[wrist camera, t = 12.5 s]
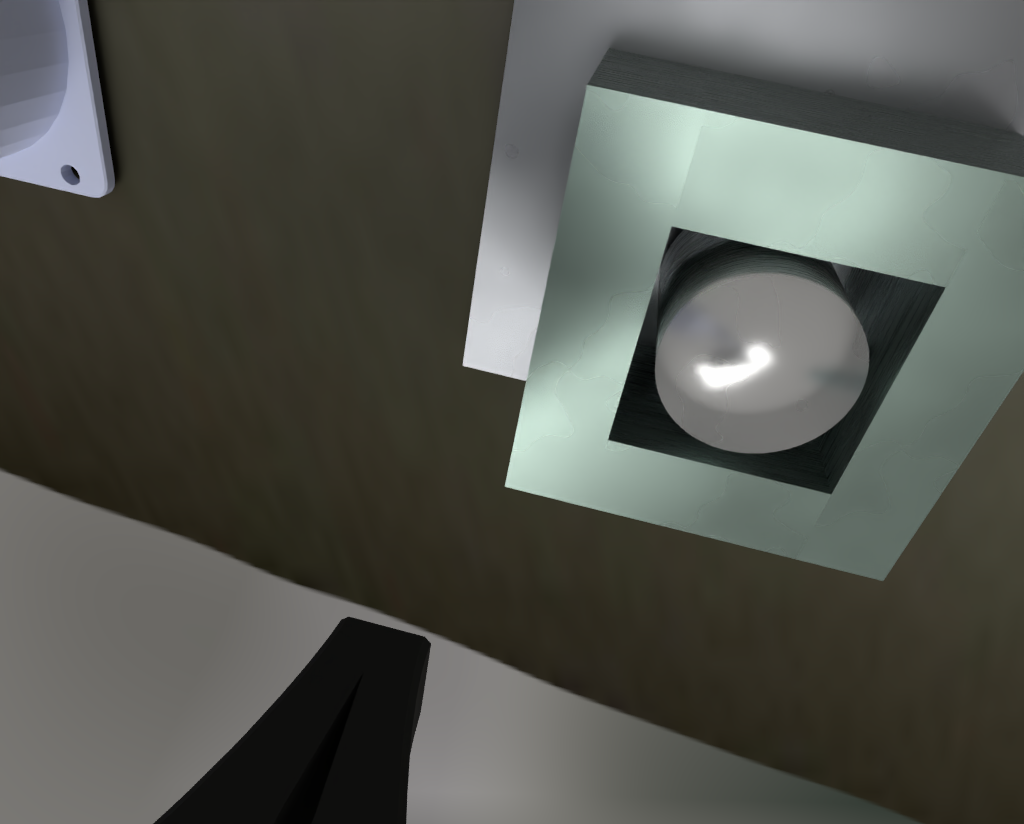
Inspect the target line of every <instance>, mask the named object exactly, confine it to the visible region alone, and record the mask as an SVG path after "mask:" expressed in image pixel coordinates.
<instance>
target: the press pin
mask: <svg viewBox="0 0 1024 824" xmlns="http://www.w3.org/2000/svg"><path fill="white" fill-rule="evenodd" d="M868 368H869V347H868V343H867V338H866V335H865V333H864V330H863V328H862V325H861V323H860V321H859V319H858V317H857V315H856V313H855V311H854V309H853V306H852V304H851V302H850V300H849V298H848V296H847V294H846V292H845V290H844V288H843V286H842V284H841V281H840V279H839V277H838V275H837V273H836V271H835V269H834V267H833V265H832V263H831V262H829V261H825V260H820V259H816V258H811V257H807V256H802V255H798V254H793V253H789V252H785V251H780V250H776V249H771V248H767V247H762V246H758V245H753V244H749V243H744V242H740V241H735V240H731V239H726V238H722V237H717V236H713V235H708V234H704V233H699V232H695V231H690V230H686V229H683V231H682V232H681V233H680V234H679V235H678V236H677V237H676V238H675V240H674V241H673V243H672V244H671V245H670V247H669V249H668V251H667V253H666V255H665V257H664V260H663V263H662V266H661V270H660V276H659V291H658V313H657V336H656V358H655V379H656V385H657V390H658V394H659V396H660V399H661V401H662V403H663V405H664V407H665V409H666V410H667V412H668V414H669V415H670V416H671V417H672V419H673V420H674V421H675V422H676V423H677V424H678V425H679V426H680V427H681V428H682V429H683V430H685V431H686V432H687V433H689V434H690V435H691V436H693V437H695V438H696V439H698V440H700V441H702V442H704V443H706V444H708V445H711V446H713V447H716V448H720V449H723V450H727V451H732V452H738V453H750V454H751V453H769V452H777V451H781V450H786V449H790V448H793V447H796V446H799V445H802V444H804V443H806V442H809V441H811V440H813V439H815V438H817V437H818V436H820V435H822V434H823V433H825V432H826V431H828V430H829V429H830V428H832V427H833V426H834V425H836V424H837V423H838V422H839V421H840V420H841V419H842V418H843V417H844V416H845V415H846V414H847V413H848V412H849V410H850V409H851V408H852V407H853V405H854V404H855V402H856V401H857V399H858V397H859V396H860V394H861V391H862V389H863V387H864V385H865V381H866V378H867V374H868Z"/></svg>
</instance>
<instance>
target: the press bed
mask: <svg viewBox="0 0 1024 824" xmlns="http://www.w3.org/2000/svg"><path fill="white" fill-rule="evenodd" d="M683 229H686V230H690V231H695V232H699V233H704V234H708V235H713V236H717V237H722V238H726V239H731V240H735V241H740V242H744V243H749V244H753V245H758V246H762V247H767V248H771V249H776V250H780V251H785V252H789V253H793V254H798V255H802V256H807V257H811V258H816V259H820V260H825V261H829V262H831V263H832V265H833V267H834V269H835V271H836V273H837V275H838V277H839V279H840V281H841V284H842V286H843V288H844V290H845V292H846V294H847V296H848V298H849V300H850V302H851V304H852V306H853V309H854V311H855V313H856V315H857V317H858V319H859V321H860V323H861V325H862V328H863V330H864V333H865V335H866V338H867V343H868V347H869V368H868V374H867V378H866V381H865V385H864V387H863V389H862V391H861V394H860V396H859V397H858V399H857V401H856V402H855V404H854V405H853V407H852V408H851V409H850V410H849V412H848V413H847V414H846V415H845V416H844V417H843V418H842V419H841V420H840V421H839V422H838V423H837V424H836V425H834V426H833V427H832V428H830V429H829V430H828V431H826V432H825V433H823V434H822V435H820V436H818V437H817V438H815V439H813V440H811V441H809V442H806V443H804V444H802V445H799V446H796V447H793V448H790V449H786V450H781V451H777V452H769V453H751V454H750V453H738V452H732V451H727V450H723V449H720V448H716V447H713V446H711V445H708V444H706V443H704V442H702V441H700V440H698V439H696V438H695V437H693V436H691V435H690V434H689V433H687V432H686V431H685V430H683V429H682V428H681V427H680V426H679V425H678V424H677V423H676V422H675V421H674V420H673V419H672V417H671V416H670V415H669V414H668V412H667V410H666V409H665V407H664V405H663V403H662V401H661V399H660V396H659V394H658V390H657V385H656V379H655V358H656V336H657V313H658V291H659V276H660V270H661V266H662V263H663V260H664V257H665V255H666V253H667V251H668V249H669V247H670V245H671V244H672V243H673V241H674V240H675V238H676V237H677V236H678V235H679V234H680V233H681V232H682V231H683ZM463 366H466V367H470V368H474V369H479V370H483V371H487V372H491V373H495V374H500V375H504V376H508V377H512V378H516V379H520V380H525V381H526V386H525V391H524V396H523V401H522V405H521V410H520V415H519V420H518V425H517V430H516V435H515V440H514V444H513V449H512V454H511V459H510V464H509V469H508V474H507V479H506V484H505V487H509V488H513V489H517V490H521V491H525V492H529V493H533V494H537V495H541V496H545V497H549V498H553V499H557V500H561V501H565V502H569V503H573V504H577V505H581V506H585V507H589V508H593V509H597V510H601V511H605V512H609V513H613V514H617V515H621V516H625V517H629V518H633V519H637V520H641V521H645V522H649V523H653V524H657V525H661V526H665V527H669V528H673V529H677V530H681V531H685V532H689V533H693V534H697V535H701V536H705V537H709V538H713V539H717V540H721V541H725V542H729V543H733V544H737V545H741V546H745V547H749V548H753V549H757V550H761V551H765V552H769V553H773V554H777V555H781V556H785V557H789V558H793V559H797V560H801V561H805V562H809V563H813V564H817V565H821V566H825V567H829V568H833V569H837V570H841V571H845V572H849V573H853V574H857V575H861V576H865V577H869V578H873V579H877V580H881V581H883V580H884V579H885V577H886V576H887V574H888V573H889V571H890V570H891V568H892V567H893V565H894V564H895V562H896V561H897V559H898V558H899V556H900V555H901V553H902V552H903V550H904V549H905V547H906V546H907V544H908V543H909V541H910V540H911V538H912V537H913V535H914V534H915V532H916V531H917V529H918V528H919V526H920V525H921V523H922V522H923V520H924V519H925V517H926V516H927V514H928V513H929V511H930V510H931V509H932V507H933V506H934V504H935V503H936V501H937V500H938V498H939V497H940V495H941V494H942V492H943V491H944V489H945V488H946V486H947V485H948V483H949V482H950V480H951V479H952V477H953V476H954V474H955V473H956V471H957V470H958V468H959V467H960V465H961V464H962V462H963V461H964V459H965V458H966V456H967V455H968V453H969V452H970V450H971V449H972V447H973V446H974V444H975V443H976V441H977V440H978V438H979V437H980V435H981V434H982V432H983V431H984V429H985V428H986V426H987V425H988V423H989V422H990V420H991V419H992V417H993V416H994V414H995V413H996V411H997V410H998V408H999V407H1000V405H1001V404H1002V402H1003V401H1004V399H1005V398H1006V396H1007V395H1008V393H1009V392H1010V390H1011V389H1012V387H1013V386H1014V384H1015V383H1016V381H1017V380H1018V378H1019V377H1020V375H1021V374H1022V372H1023V371H1024V0H515V1H514V8H513V15H512V22H511V29H510V36H509V43H508V50H507V57H506V64H505V71H504V78H503V85H502V92H501V99H500V106H499V113H498V120H497V127H496V134H495V141H494V149H493V156H492V163H491V170H490V177H489V184H488V191H487V198H486V205H485V212H484V219H483V226H482V233H481V240H480V247H479V254H478V261H477V268H476V275H475V282H474V289H473V296H472V303H471V310H470V317H469V324H468V331H467V338H466V346H465V353H464V360H463Z"/></svg>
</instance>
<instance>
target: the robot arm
mask: <svg viewBox="0 0 1024 824" xmlns="http://www.w3.org/2000/svg"><path fill="white" fill-rule="evenodd" d="M71 166H72V167H74V168H75V169H76V170H77V171H78V174H79V176H80V180H79V179H78V178H77V177H76V176H75V175H74V174H73V172H72V169H71ZM0 176H3V177H7V178H11V179H16V180H20V181H24V182H29V183H33V184H37V185H42V186H46V187H50V188H54V189H59V190H63V191H67V192H72V193H76V194H80V195H85V196H89V197H96V198H100V197H102V196H104V195H106V194H108V193H110V192H112V190H113V189H114V187H115V177H114V170H113V164H112V157H111V151H110V145H109V138H108V132H107V125H106V119H105V112H104V106H103V100H102V93H101V87H100V80H99V74H98V67H97V61H96V55H95V48H94V42H93V35H92V29H91V22H90V16H89V9H88V3H87V0H0ZM430 647H431V643H430V642H429V641H428V640H427V639H426V638H425V637H423V636H420V635H416V634H412V633H408V632H404V631H401V630H397V629H393V628H389V627H386V626H382V625H378V624H374V623H371V622H367V621H363V620H359V619H355V618H351V617H347V618H345V619H342V620H341V621H340V623H339V624H338V625H337V627H336V628H335V630H334V631H333V632H332V634H331V635H330V636H329V638H328V639H327V640H326V642H325V643H324V644H323V645H322V647H321V648H320V649H319V651H318V652H317V653H316V654H315V656H314V657H313V658H312V659H311V661H310V662H309V663H308V664H307V665H306V667H305V668H304V669H303V670H302V671H301V673H300V674H299V675H298V676H297V677H296V678H295V680H294V681H293V682H292V683H291V684H290V686H289V687H288V688H287V689H286V690H285V691H284V692H283V694H282V695H281V696H280V697H279V698H278V699H277V700H276V701H275V702H274V703H273V705H272V706H271V707H270V708H269V709H268V710H267V711H266V712H265V713H264V714H263V715H262V717H261V718H260V719H259V720H258V721H257V722H256V723H255V724H254V725H253V726H252V727H251V728H250V730H249V731H248V732H247V733H246V734H245V735H244V736H243V737H242V738H241V739H240V740H239V741H238V743H236V744H235V745H234V746H233V747H232V749H230V750H229V752H228V753H226V754H225V755H224V756H223V757H222V759H220V760H219V761H218V762H217V763H216V764H215V765H214V766H213V767H212V769H210V770H209V771H208V772H207V773H206V774H205V775H204V776H203V777H202V778H201V779H200V780H199V781H198V782H197V783H196V784H195V785H194V786H193V787H192V788H191V789H190V790H189V791H188V792H187V793H186V794H185V795H184V796H183V797H182V798H181V799H180V800H179V801H177V802H176V803H175V804H174V805H173V806H172V807H171V808H170V809H169V810H168V811H167V812H166V813H165V814H163V815H162V816H161V817H160V818H159V819H158V820H157V821H156V822H155V823H154V824H406V812H407V789H408V773H409V759H410V752H411V748H412V743H413V738H414V734H415V731H416V727H417V723H418V720H419V716H420V712H421V706H422V700H423V693H424V686H425V680H426V673H427V667H428V660H429V653H430Z"/></svg>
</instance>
